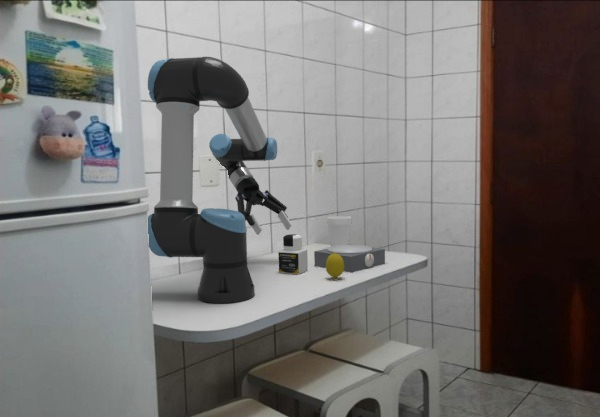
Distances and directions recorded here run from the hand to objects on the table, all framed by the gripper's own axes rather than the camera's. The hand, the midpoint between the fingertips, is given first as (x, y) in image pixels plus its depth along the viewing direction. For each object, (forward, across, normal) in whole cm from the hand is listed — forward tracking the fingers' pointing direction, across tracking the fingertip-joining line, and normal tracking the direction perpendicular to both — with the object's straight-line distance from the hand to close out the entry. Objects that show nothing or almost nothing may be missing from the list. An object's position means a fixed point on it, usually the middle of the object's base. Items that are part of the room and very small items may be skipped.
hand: (275, 229), depth 178 cm
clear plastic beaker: (+6, -38, -13) cm, 41 cm away
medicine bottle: (+16, +1, -3) cm, 16 cm away
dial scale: (+20, -19, +2) cm, 28 cm away
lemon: (+28, 0, +9) cm, 29 cm away
